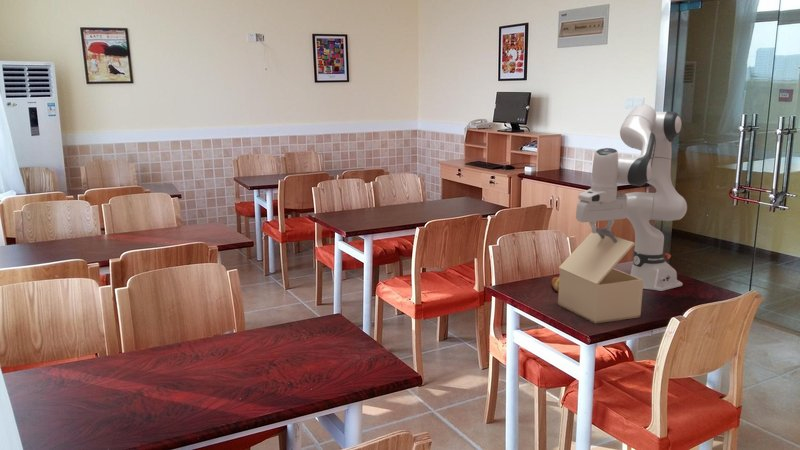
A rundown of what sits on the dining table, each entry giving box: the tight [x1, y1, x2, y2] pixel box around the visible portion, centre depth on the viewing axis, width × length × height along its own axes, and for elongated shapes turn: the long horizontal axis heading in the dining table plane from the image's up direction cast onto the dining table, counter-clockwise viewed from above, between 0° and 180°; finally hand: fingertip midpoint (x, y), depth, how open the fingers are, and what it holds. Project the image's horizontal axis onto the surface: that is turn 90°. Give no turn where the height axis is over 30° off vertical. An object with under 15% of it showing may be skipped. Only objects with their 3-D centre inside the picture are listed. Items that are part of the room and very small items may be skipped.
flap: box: [558, 226, 635, 285], centre depth 236 cm, size 20×22×6 cm
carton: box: [557, 268, 644, 324], centre depth 241 cm, size 20×22×14 cm
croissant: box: [551, 276, 560, 293], centre depth 265 cm, size 21×10×8 cm, turn 17°
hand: (601, 232), depth 236 cm, fingers open, 4 cm apart
